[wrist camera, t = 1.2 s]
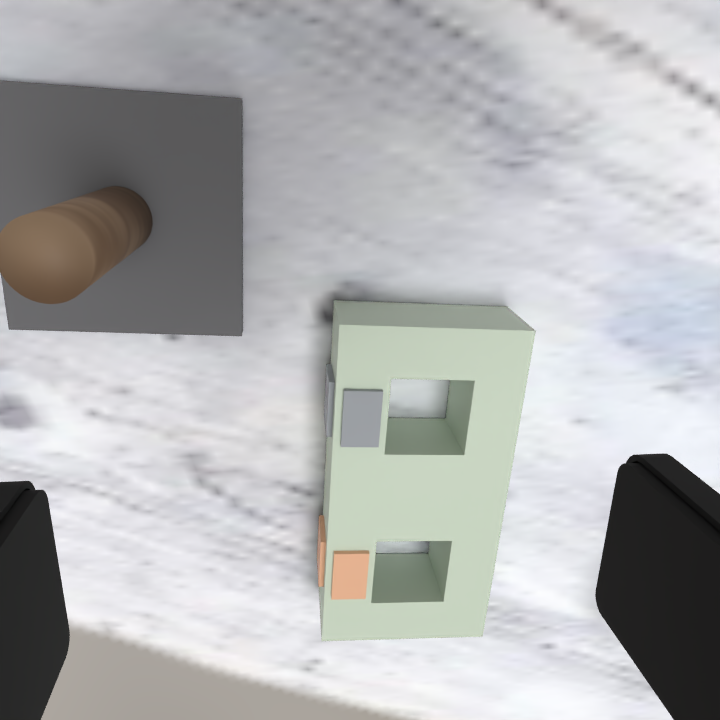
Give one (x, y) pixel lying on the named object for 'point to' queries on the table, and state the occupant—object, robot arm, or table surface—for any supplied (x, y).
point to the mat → (148, 179)
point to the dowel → (72, 243)
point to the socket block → (417, 467)
